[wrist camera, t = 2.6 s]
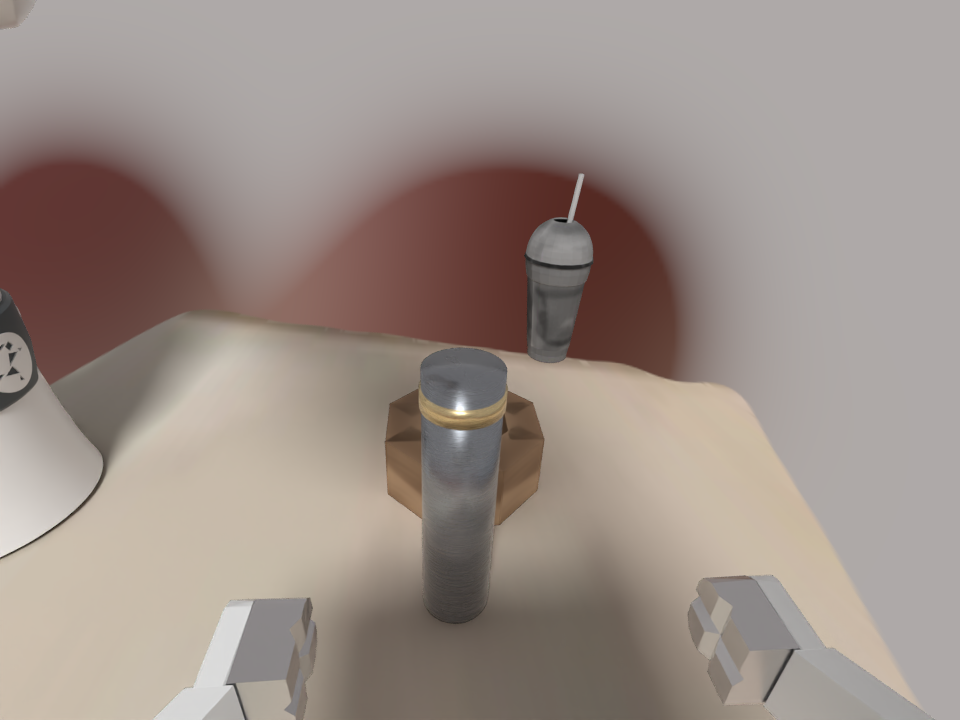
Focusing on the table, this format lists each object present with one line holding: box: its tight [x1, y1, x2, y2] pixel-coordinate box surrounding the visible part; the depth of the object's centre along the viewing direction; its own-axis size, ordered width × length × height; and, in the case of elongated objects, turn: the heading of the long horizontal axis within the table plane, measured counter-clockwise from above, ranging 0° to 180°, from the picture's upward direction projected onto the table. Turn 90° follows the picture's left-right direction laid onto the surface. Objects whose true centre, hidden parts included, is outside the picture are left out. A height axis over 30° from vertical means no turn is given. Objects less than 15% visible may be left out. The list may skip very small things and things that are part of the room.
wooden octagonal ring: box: [385, 389, 544, 525], centre depth 40 cm, size 11×12×5 cm
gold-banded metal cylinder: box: [419, 348, 508, 623], centre depth 27 cm, size 4×4×16 cm
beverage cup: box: [524, 174, 593, 363], centre depth 55 cm, size 7×7×20 cm
